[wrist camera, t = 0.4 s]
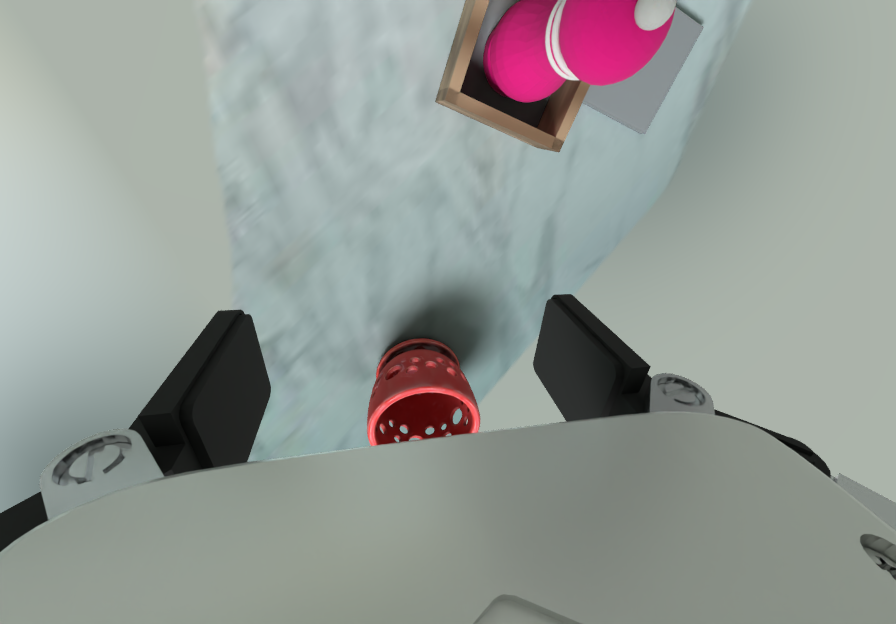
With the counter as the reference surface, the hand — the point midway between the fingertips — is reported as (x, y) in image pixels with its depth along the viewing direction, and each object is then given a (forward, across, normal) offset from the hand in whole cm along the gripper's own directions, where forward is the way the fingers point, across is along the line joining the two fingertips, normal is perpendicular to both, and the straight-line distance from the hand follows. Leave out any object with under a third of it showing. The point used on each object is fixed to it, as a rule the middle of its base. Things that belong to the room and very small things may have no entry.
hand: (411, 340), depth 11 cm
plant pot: (+30, -3, +25) cm, 39 cm away
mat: (+29, -26, -12) cm, 41 cm away
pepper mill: (+30, -13, -11) cm, 34 cm away
